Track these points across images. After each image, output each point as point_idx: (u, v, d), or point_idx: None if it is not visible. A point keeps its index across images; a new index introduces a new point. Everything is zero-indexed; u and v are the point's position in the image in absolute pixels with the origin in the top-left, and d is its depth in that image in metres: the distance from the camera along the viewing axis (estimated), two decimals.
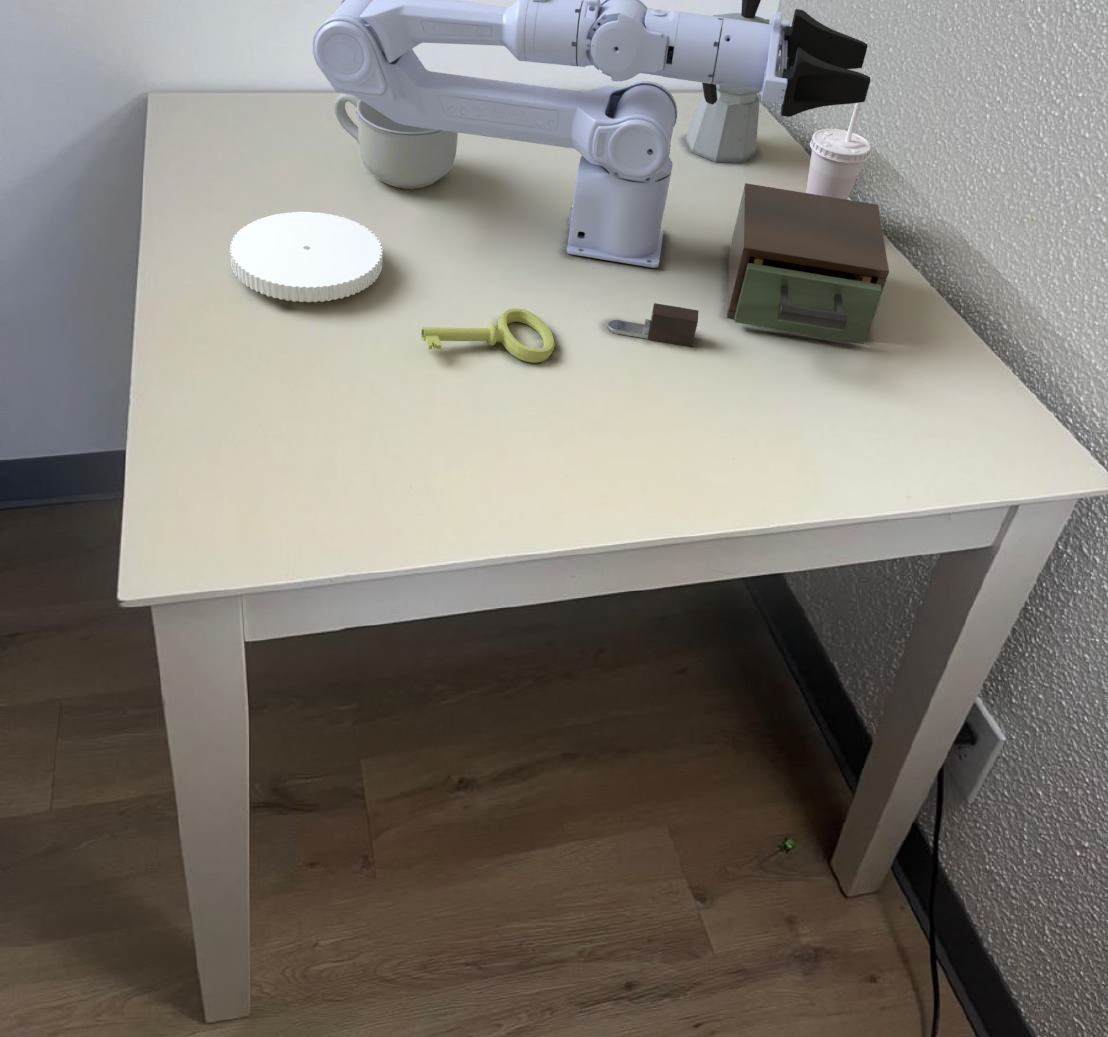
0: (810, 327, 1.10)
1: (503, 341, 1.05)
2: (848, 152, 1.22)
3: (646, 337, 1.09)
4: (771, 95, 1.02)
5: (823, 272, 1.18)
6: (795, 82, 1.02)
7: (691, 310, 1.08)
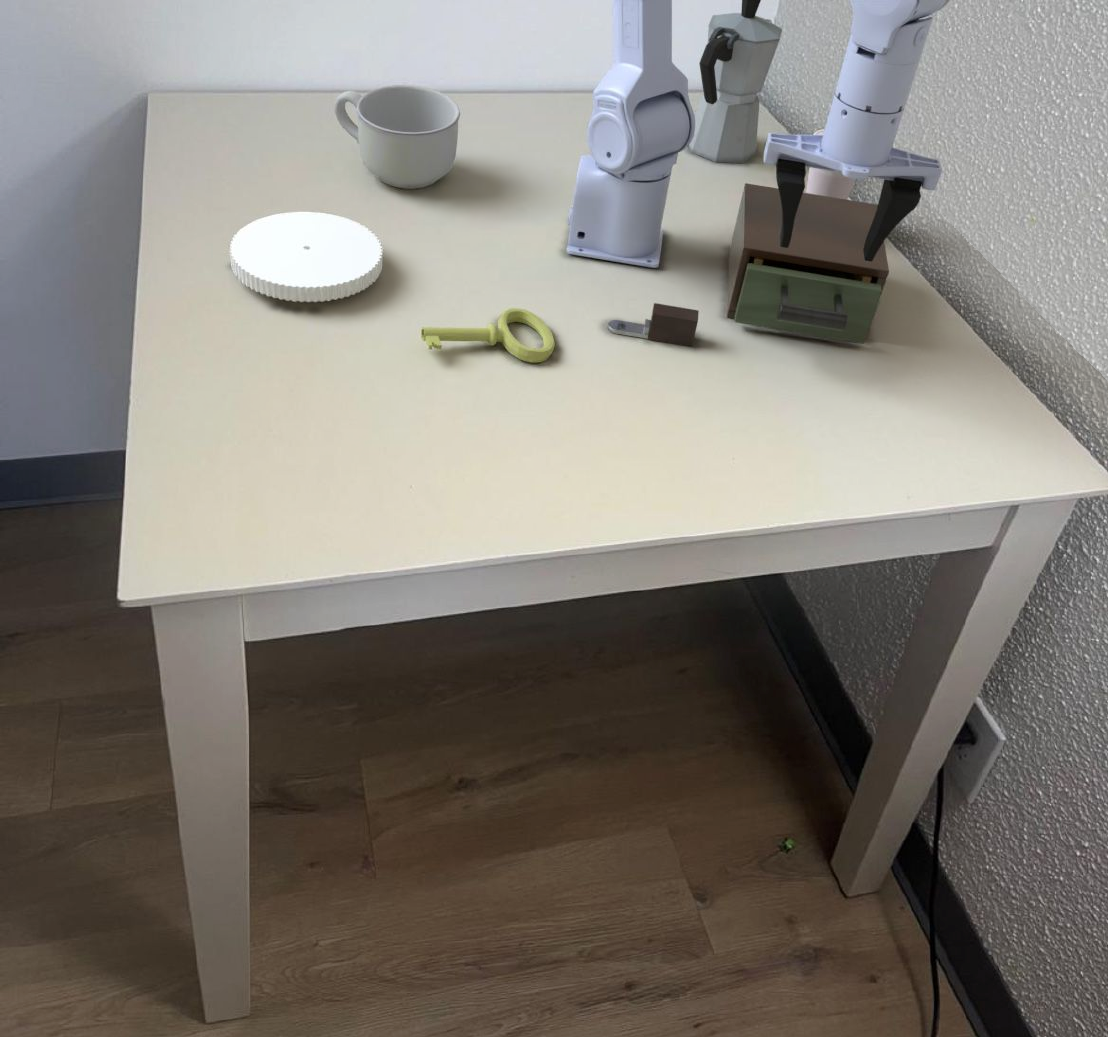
0: (810, 327, 1.10)
1: (503, 341, 1.05)
2: None
3: (646, 337, 1.09)
4: (766, 144, 0.99)
5: (823, 272, 1.18)
6: None
7: (691, 310, 1.08)
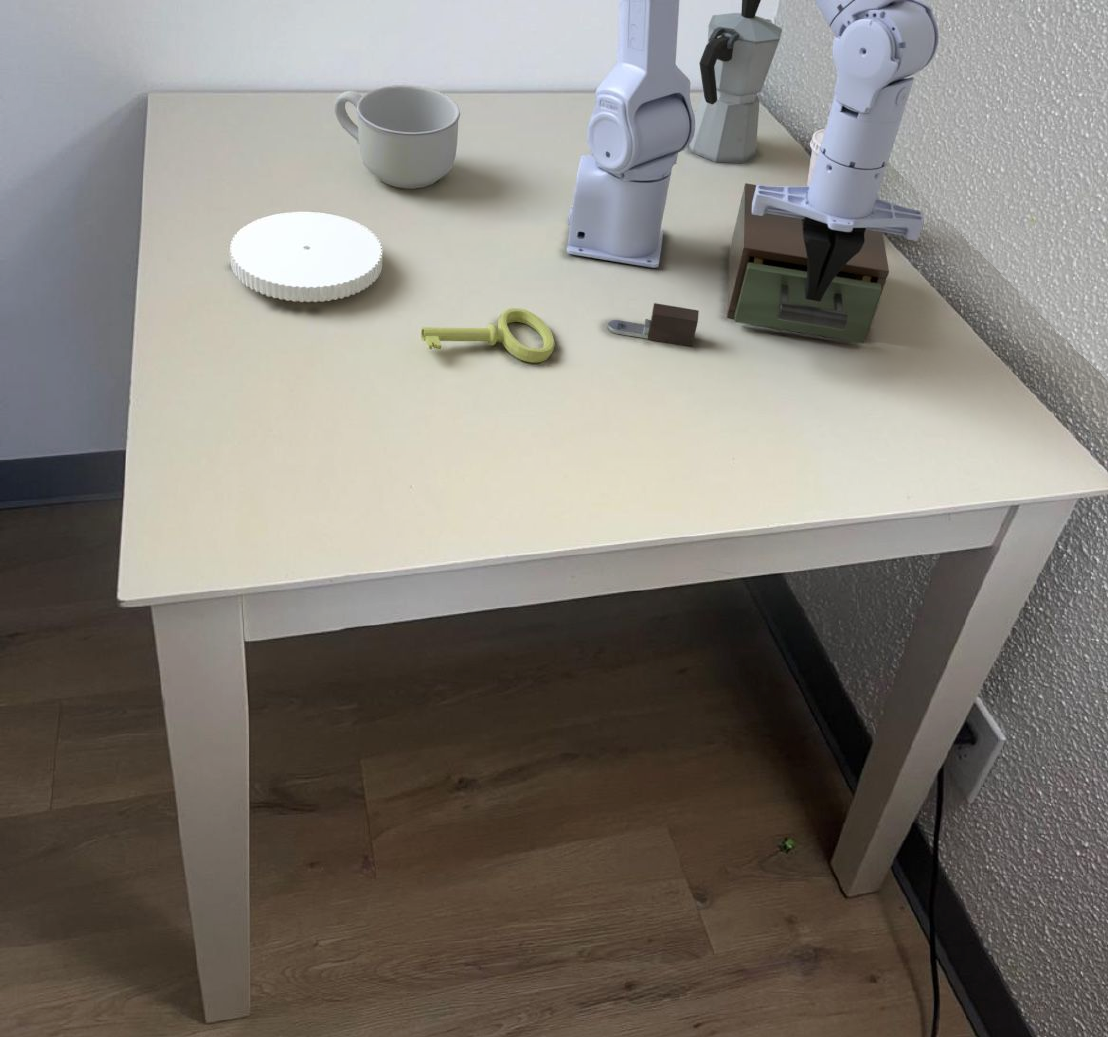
0: (810, 326, 1.10)
1: (503, 341, 1.05)
2: None
3: (646, 337, 1.09)
4: (754, 195, 1.02)
5: None
6: None
7: (691, 310, 1.08)
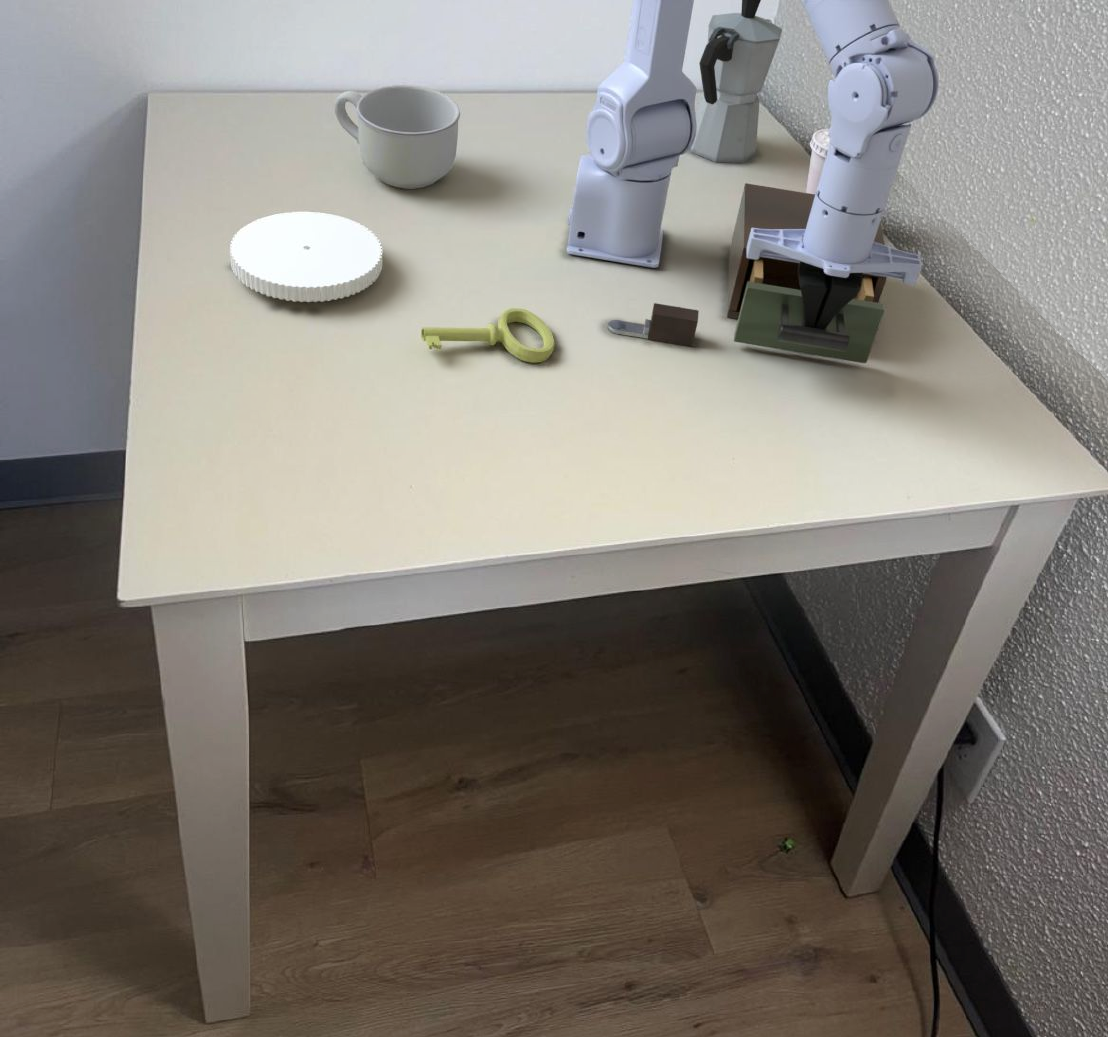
0: (811, 347, 1.08)
1: (503, 341, 1.05)
2: None
3: (646, 337, 1.09)
4: (749, 239, 1.00)
5: None
6: None
7: (691, 310, 1.08)
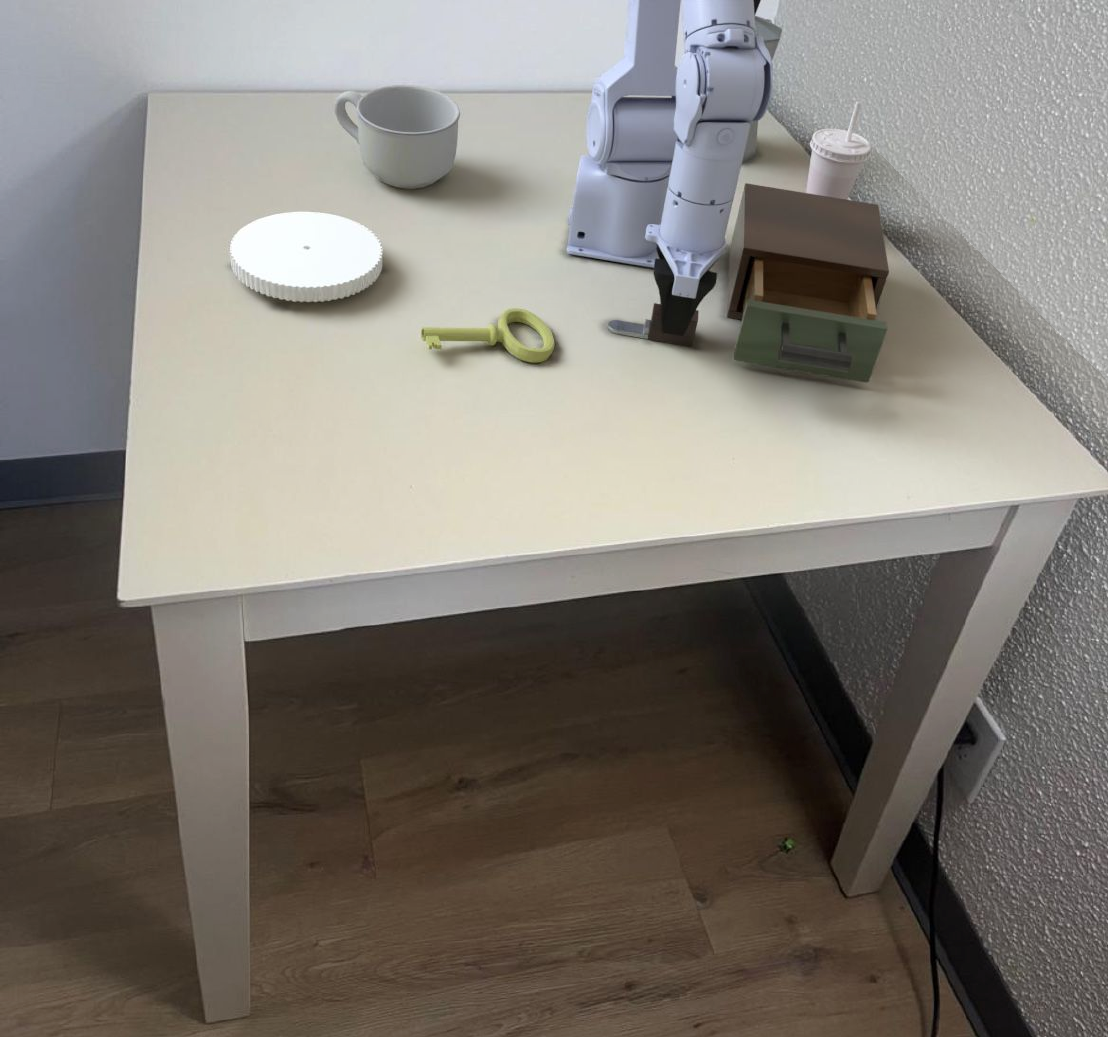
0: (812, 366, 1.05)
1: (503, 341, 1.05)
2: (848, 152, 1.22)
3: (646, 337, 1.09)
4: None
5: (825, 306, 1.13)
6: None
7: None
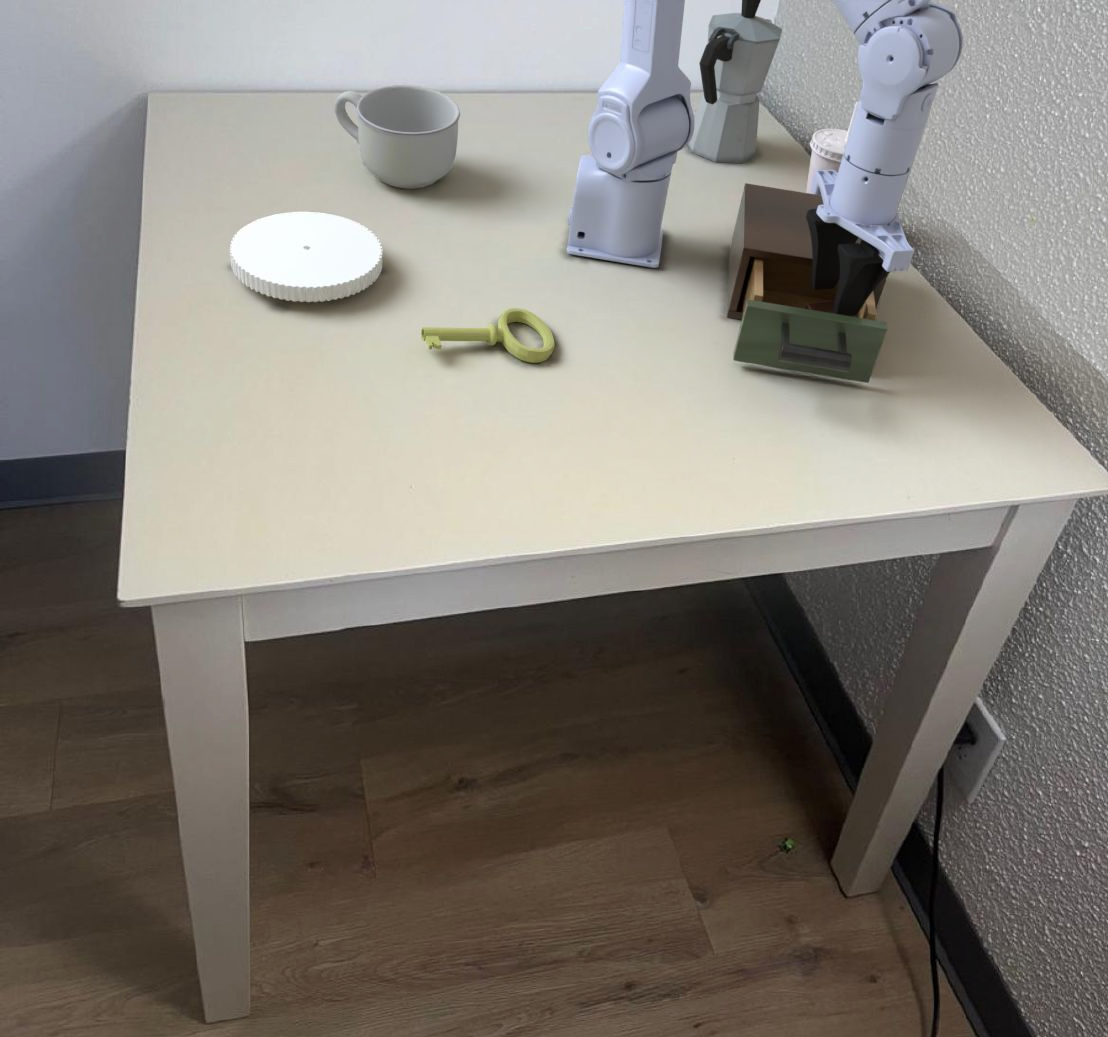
0: (812, 366, 1.05)
1: (503, 341, 1.05)
2: None
3: None
4: None
5: None
6: None
7: None
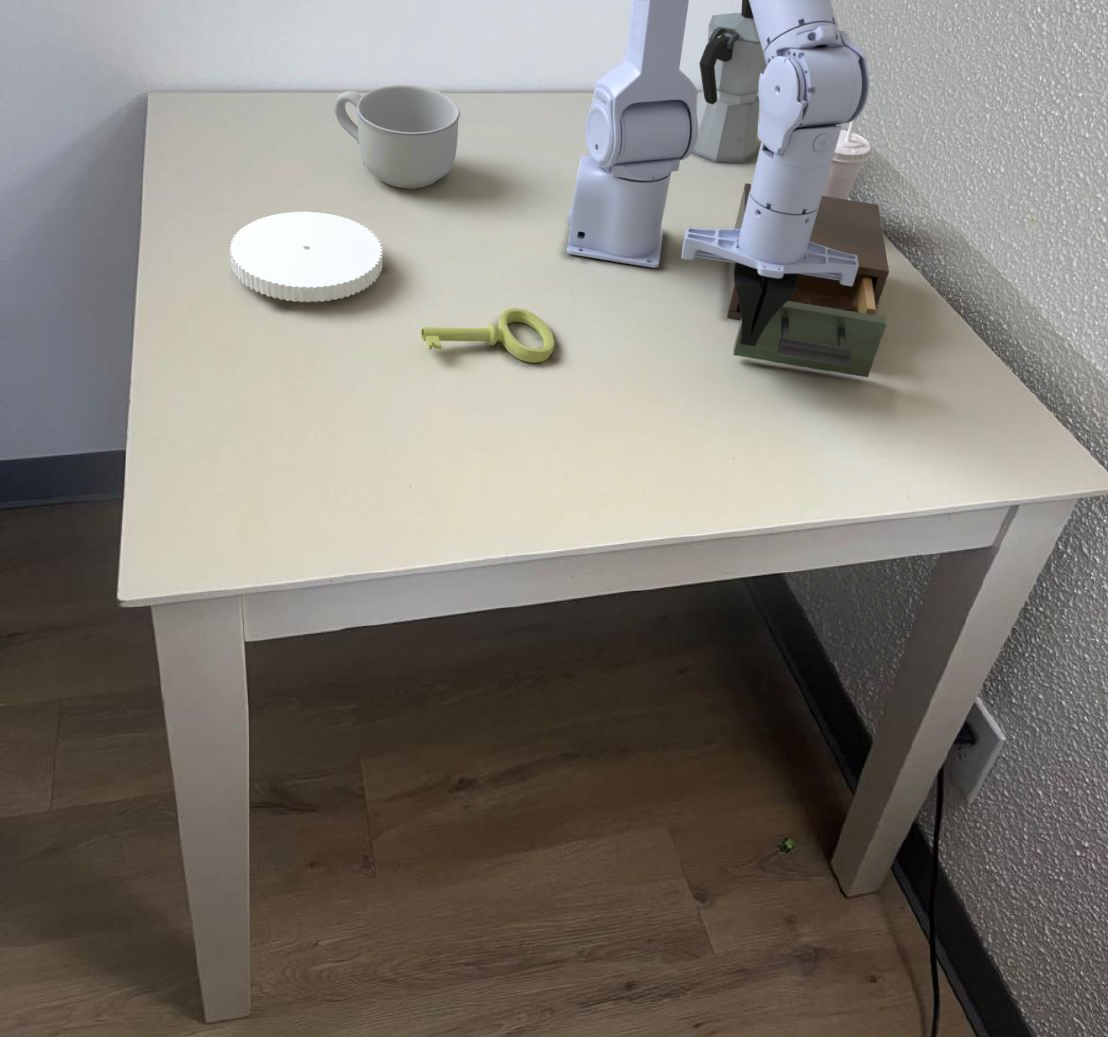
0: (812, 360, 1.06)
1: (503, 341, 1.05)
2: (848, 152, 1.22)
3: None
4: (684, 239, 0.98)
5: None
6: None
7: (840, 297, 1.09)
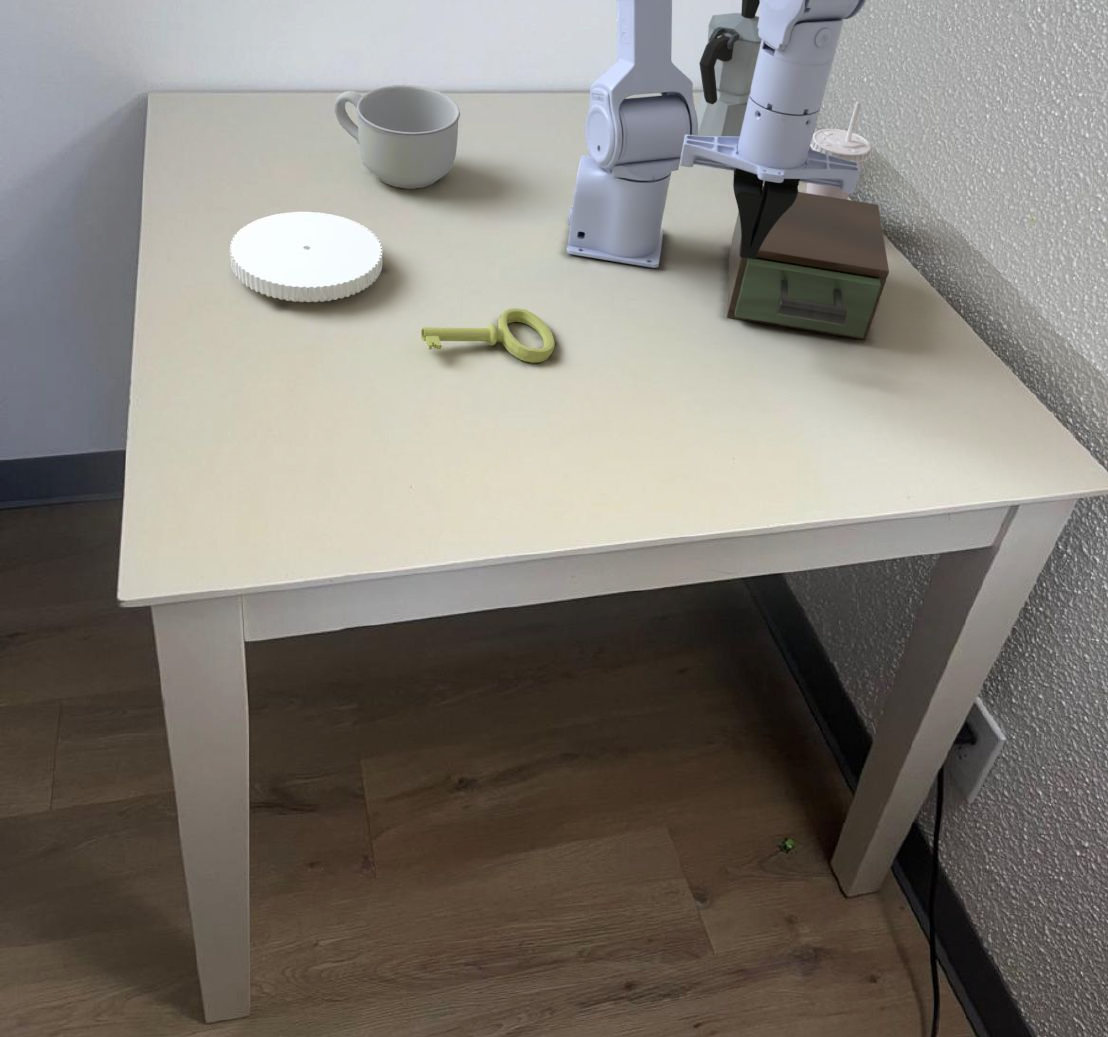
0: (810, 321, 1.11)
1: (503, 341, 1.05)
2: (848, 152, 1.22)
3: None
4: (682, 146, 0.97)
5: None
6: None
7: None
